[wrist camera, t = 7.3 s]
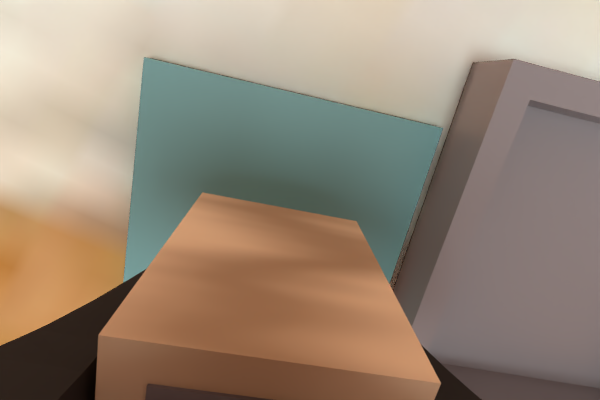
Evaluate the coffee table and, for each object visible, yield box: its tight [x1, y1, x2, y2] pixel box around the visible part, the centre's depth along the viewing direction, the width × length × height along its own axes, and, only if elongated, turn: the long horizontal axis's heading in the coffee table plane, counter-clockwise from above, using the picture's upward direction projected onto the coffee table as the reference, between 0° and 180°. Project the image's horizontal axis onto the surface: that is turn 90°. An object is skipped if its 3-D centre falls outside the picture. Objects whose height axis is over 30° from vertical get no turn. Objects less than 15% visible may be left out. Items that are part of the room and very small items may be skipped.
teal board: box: [123, 57, 443, 284], centre depth 15 cm, size 11×11×1 cm
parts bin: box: [393, 59, 600, 400], centre depth 15 cm, size 14×14×2 cm
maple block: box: [95, 192, 441, 400], centre depth 8 cm, size 4×4×6 cm
